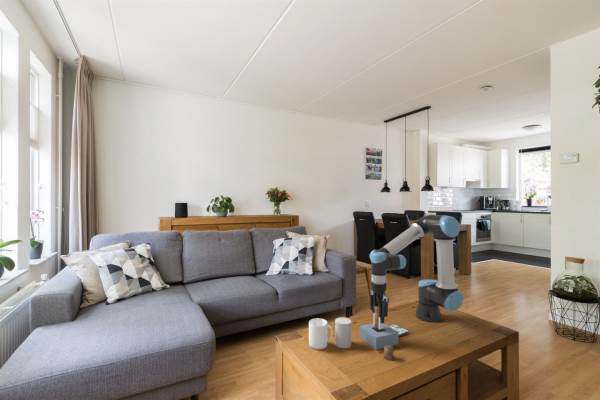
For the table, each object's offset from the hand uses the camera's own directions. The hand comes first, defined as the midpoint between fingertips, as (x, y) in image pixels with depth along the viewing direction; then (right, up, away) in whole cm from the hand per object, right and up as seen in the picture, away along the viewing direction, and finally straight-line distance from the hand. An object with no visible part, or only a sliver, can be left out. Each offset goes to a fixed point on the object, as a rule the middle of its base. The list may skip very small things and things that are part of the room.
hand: (378, 326), depth 149 cm
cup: (-19, -7, -4) cm, 21 cm away
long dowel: (0, -3, 0) cm, 3 cm away
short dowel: (0, -7, -16) cm, 18 cm away
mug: (-31, -7, -4) cm, 32 cm away
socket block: (0, -7, 0) cm, 7 cm away
